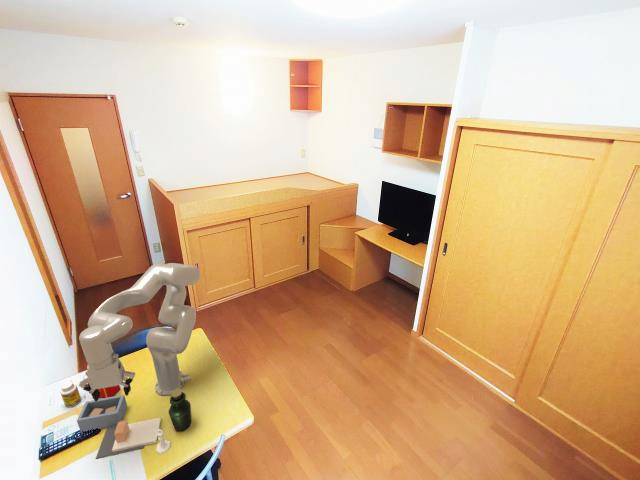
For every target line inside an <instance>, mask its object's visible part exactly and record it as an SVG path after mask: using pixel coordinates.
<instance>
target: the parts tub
mask: <svg viewBox="0 0 640 480" xmlns="http://www.w3.org/2000/svg"><path fill="white" fill-rule="evenodd" d="M127 410H128V403H127V400H126V397H125V394H120V395H116V396H115V395H114V396H113V397H109V398H99V399H98V401H96V402H95V400H94V399H93V400H87V401H86V402H84V405H83V407H82V410H81V411H80V413H79V415H78V417H77V420H76V422H77V425H78V428H79V431H80V433H81V432H82V431H86V430H91V429H96V428H98V429H100V430H106V429H107V428H112V427H117V424H118V422H121V421H124V418H125V415H126V412H127ZM100 430H99V431H100Z"/></svg>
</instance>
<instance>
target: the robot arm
mask: <svg viewBox="0 0 640 480" xmlns="http://www.w3.org/2000/svg"><path fill="white" fill-rule="evenodd" d="M200 277H201V271H200V269H199V268H198V267H197V266H194V265H192V264H191V265H188V264H185V263H176V262H168V263H154V264H152V265H150V267H149V268H148V269H147V270H146V271H144V273H143V274H142V275H141V277H140V278H138V280H137V281H136V282H135V283H134V284H133V285H132V286H131V287H130V288H128V289H126V290H123V291H120V292H118V293H117V294H115V295H113V296H111V297H109V298H107V299H106V300H105V301H104V302H102V303H101V304H100V305H99V306H98V308H96V309H95V310H94V311H93V313H92V314H91V315H90V317H89V319H88V322H87V328H85V329H84V330H82V331H81V332H80V334H79V337H78V340H79V344H80V346H81V350H82V351H83V355H84V358H85V360H86V362H87V365H86V366H87V367H86V372H87V375H86V378H85V379H83V380H81V381H79V384H78V387H80V388H81V389H83V391H86V392H88V393H89V394H90V395H91V394H92V395H91V396H92V397H91V398H92V399H93V400H95V402H96V401H98V399H100V398H99V397H100V391H99V389H101V388H106V387H112V386H117V385H120V386H122V387H123V392H124V396H126V397H127V396H129V393H130V392H131V389H132V388H131V383H132V382H133V381H134V378H135V375H136V372H134V371H127V370H125V367H124V365H123V363H122V361H121V359H120V358H119V357H120V356H119V353H115V351H114V350H113V347H112V344H111V343H113V342H115V341H117V340H119V339H120V338H122V337H125V336H126V335H127V334H129V332H130V331H131V330H132V329H133V328H132V327H133V324H134V322H133V320H132V318H130V317H129V316H127V315H124V314H118V312H120V311H122V310H124V309H126V308H129V307H134V306H139V305H142V304H146V303H149V302H150V301H151V300H152V299H153V298H154V297H155V296H156V294H157V293H158V292H159V291H160V289H161V288H162V287H163V286H166V293H165V297H164V298H163V301H162V304H161V307H160V310H159V313H158V321H159V322H160V323H161V324H164V325H167V326H173V327H176V329H175V328H169V327H163V326H156V327H154V328H152V329H150V330H149V331H148V333H147V335H146V337H145V343H146V344H145V345H146V346H147V349H148V350H149V352H150V355H151V357H152V362H153V367H154V371H155V375H156V380H157V381H156V383H155V386H154V390H155V392H156V394H158V395H159V396H164V397H165V396H166V397H167V396H172V395H171V393H172V392H173V391H174V390H175V389H181V390H182V388H183V387H184V385H185V382H190V381H192V377H191V376H190V375H189V373H185V374H184V373H183V372H182V370H180V366H179V360H178V355H181V354H182V353H184V351H186V349H187V348H188V345H189V342H190V339H191V337H192V333H193V330H194V327H195V323H196V319H197V312H196V309H195V307H193V306H191V305H185V301H186V298H187V297H186V296H187V289H186V287H187V286H194V285H196V283H197V284H198V281H199V280H200ZM87 376H88V377H87ZM128 377H129V378H128ZM88 383H89V384H88Z"/></svg>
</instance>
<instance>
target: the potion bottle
mask: <svg viewBox="0 0 640 480" xmlns="http://www.w3.org/2000/svg"><path fill="white" fill-rule="evenodd" d="M186 398H187V396H186V394H185V392H183V390H182V388H181V389H175V390H174V391H173V392H172V393H171V395H170V398H169V403H170V406H169V409H168V415H169V418H170V420H171V421H170V422H171V424H172V425H173V429H174V431H175V432H178V433H182V432H185V431H187V430H188V429H189V428H190V427H191V425H192V406H191V402H190V401H189V400H187V399H186Z"/></svg>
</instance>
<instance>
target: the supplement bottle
mask: <svg viewBox="0 0 640 480" xmlns="http://www.w3.org/2000/svg"><path fill="white" fill-rule="evenodd" d="M60 388H61V389H60V394H61V398H62V401H63V403H64V406H65V407H67V408H73V407H74V406H76V405H78V404H79V403H80V401H81V399H82V398H81V395H80V391H79V389H78V386H77V384H76V383H74V382H73V381H71V380H70V381H66V382H64V383H63V384H61V387H60Z"/></svg>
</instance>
